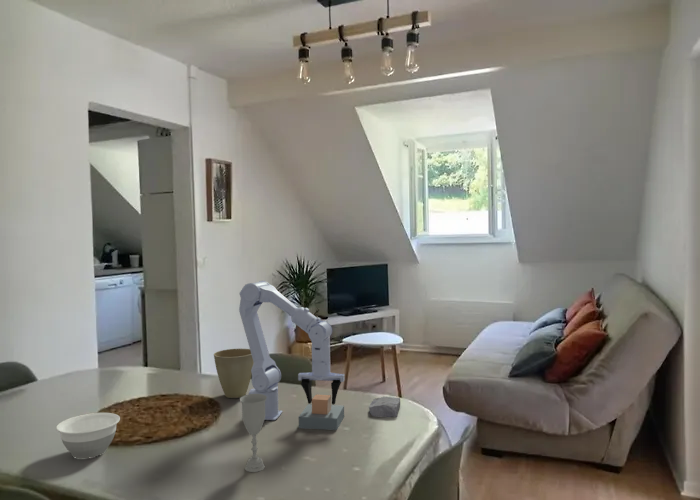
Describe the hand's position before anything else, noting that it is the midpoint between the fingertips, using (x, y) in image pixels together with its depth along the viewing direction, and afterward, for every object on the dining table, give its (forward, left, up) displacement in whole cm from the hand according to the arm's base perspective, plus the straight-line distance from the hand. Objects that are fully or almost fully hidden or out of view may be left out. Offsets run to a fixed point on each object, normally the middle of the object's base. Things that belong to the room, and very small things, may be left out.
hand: (321, 403), depth 169 cm
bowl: (-59, -31, -6) cm, 67 cm away
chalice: (-10, -34, -6) cm, 36 cm away
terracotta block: (0, 0, -2) cm, 3 cm away
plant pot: (-38, +23, -6) cm, 45 cm away
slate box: (0, 0, -6) cm, 6 cm away
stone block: (+18, +13, -6) cm, 23 cm away
